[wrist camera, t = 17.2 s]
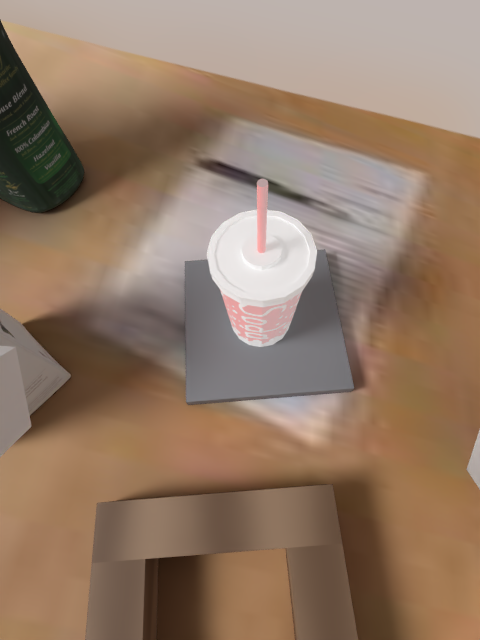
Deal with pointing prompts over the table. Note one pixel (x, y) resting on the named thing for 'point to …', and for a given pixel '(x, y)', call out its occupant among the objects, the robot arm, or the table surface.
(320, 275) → the slate coaster
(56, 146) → the coffee jar
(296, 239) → the beverage cup
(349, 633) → the walnut holder
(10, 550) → the table surface
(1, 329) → the supplement box
